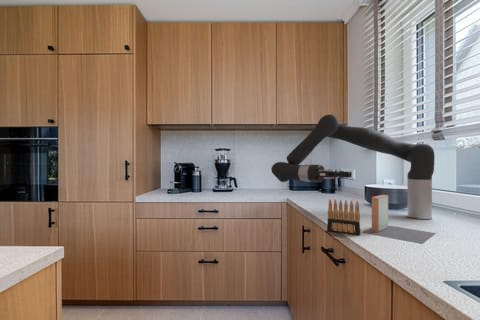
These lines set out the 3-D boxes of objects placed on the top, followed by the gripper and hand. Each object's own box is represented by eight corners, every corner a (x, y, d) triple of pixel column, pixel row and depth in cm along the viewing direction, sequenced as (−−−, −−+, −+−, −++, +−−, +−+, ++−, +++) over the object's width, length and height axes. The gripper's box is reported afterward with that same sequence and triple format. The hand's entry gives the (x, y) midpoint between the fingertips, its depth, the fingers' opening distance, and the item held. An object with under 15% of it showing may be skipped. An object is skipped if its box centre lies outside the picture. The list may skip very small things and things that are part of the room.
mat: (380, 225, 106) (380, 224, 106) (436, 234, 93) (436, 233, 93) (361, 234, 94) (361, 232, 94) (422, 245, 81) (422, 243, 81)
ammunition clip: (326, 233, 95) (326, 198, 95) (328, 231, 97) (328, 198, 97) (359, 237, 90) (360, 201, 90) (360, 236, 92) (360, 200, 92)
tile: (382, 226, 102) (382, 194, 102) (388, 227, 101) (388, 195, 101) (371, 231, 95) (371, 197, 95) (378, 232, 94) (378, 197, 94)
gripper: (302, 164, 114) (342, 165, 101) (319, 164, 123) (357, 164, 111) (302, 182, 114) (342, 185, 101) (319, 181, 123) (357, 183, 111)
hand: (350, 174), depth 106 cm, fingers closed
